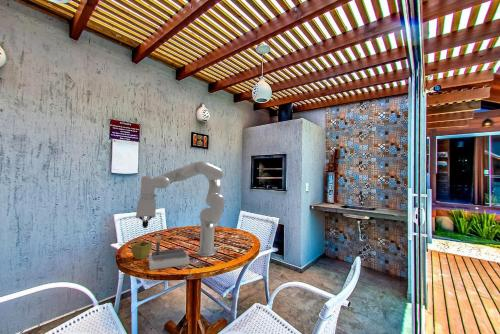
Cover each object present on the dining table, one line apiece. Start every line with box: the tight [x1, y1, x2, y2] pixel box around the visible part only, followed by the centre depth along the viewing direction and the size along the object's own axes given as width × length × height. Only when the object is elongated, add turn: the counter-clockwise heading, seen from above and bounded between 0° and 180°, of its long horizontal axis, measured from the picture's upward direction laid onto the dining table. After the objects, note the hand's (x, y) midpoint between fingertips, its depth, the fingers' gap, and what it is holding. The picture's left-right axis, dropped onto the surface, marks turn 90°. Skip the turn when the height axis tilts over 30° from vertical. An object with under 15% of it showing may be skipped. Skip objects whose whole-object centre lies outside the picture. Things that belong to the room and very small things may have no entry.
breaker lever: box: [153, 234, 162, 256], centre depth 133 cm, size 4×6×12 cm, turn 28°
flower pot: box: [130, 241, 153, 261], centre depth 142 cm, size 9×9×9 cm
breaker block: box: [147, 248, 190, 271], centre depth 135 cm, size 22×14×6 cm, turn 118°
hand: (144, 227), depth 130 cm, fingers closed
